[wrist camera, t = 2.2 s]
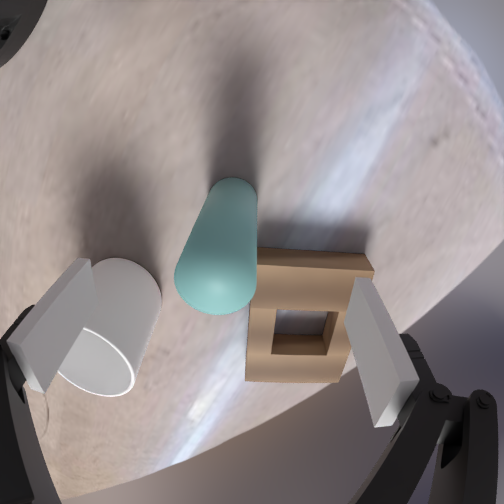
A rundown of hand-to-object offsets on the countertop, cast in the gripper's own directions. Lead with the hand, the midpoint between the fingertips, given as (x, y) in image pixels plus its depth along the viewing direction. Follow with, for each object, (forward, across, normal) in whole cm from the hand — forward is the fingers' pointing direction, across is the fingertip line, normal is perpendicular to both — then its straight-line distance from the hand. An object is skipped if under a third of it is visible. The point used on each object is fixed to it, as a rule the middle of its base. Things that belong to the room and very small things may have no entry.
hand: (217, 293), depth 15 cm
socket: (+13, +7, -10) cm, 18 cm away
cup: (+13, -12, -10) cm, 21 cm away
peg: (+12, 0, 0) cm, 12 cm away
